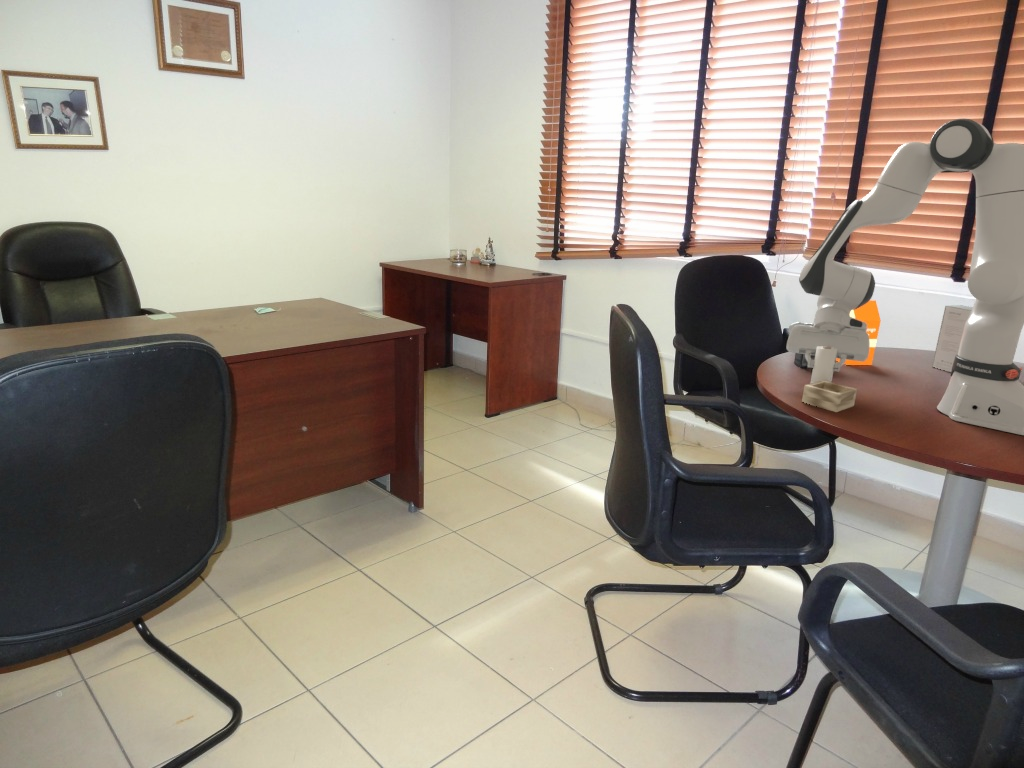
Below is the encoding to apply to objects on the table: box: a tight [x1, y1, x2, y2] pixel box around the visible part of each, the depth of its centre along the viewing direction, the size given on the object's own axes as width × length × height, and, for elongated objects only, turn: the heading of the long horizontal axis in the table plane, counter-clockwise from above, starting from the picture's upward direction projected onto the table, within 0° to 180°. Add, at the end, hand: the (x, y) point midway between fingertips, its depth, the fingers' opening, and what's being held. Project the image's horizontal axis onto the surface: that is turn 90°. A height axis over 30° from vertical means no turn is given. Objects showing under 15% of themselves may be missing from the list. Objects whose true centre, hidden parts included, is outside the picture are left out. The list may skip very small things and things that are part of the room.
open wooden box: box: [801, 380, 858, 413], centre depth 166 cm, size 9×9×4 cm
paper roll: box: [809, 346, 837, 384], centre depth 176 cm, size 5×5×12 cm
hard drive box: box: [931, 304, 973, 373], centre depth 200 cm, size 16×8×20 cm, turn 22°
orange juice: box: [836, 299, 881, 366], centre depth 207 cm, size 8×9×20 cm
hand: (823, 368), depth 175 cm, fingers closed on paper roll, 5 cm apart
